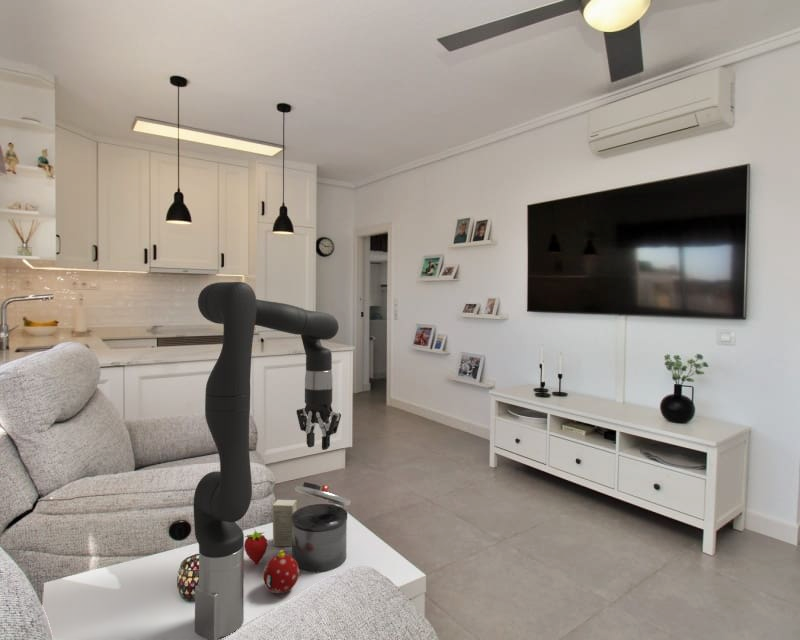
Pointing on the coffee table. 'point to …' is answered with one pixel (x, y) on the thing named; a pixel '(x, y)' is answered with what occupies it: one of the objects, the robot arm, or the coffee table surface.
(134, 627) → the coffee table surface
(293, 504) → the skincare box
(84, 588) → the coffee table surface
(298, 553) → the cooker pot
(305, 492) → the cooker lid
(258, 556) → the strawberry
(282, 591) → the christmas ornament
